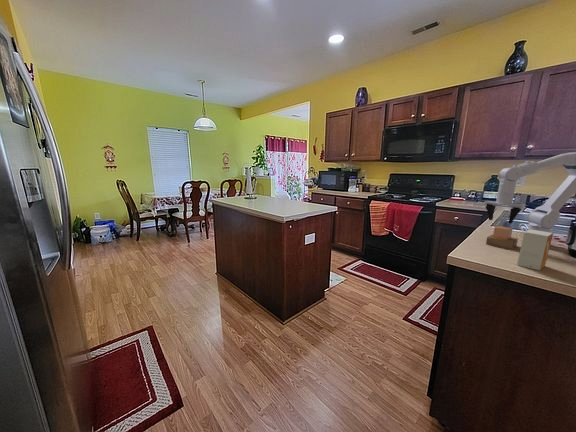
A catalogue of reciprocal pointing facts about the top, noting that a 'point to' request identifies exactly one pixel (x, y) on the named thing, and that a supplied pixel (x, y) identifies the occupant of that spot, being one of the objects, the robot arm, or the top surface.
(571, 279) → the top surface
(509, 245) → the walnut block
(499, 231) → the terracotta cube
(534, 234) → the small box
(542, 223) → the robot arm
